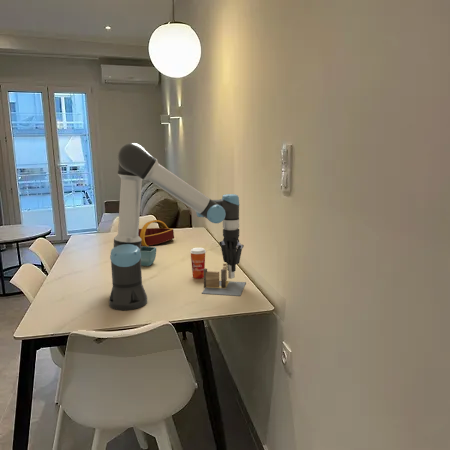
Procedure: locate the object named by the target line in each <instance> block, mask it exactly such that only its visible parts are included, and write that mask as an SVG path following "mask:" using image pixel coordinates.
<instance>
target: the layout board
mask: <svg viewBox="0 0 450 450" xmlns="http://www.w3.org/2000/svg"><path fill="white" fill-rule="evenodd" d="M245 286H246V281H231V280H226V287H225V288H221V280H219V287H204V289H203V290H202V292H201V294H204V295H217V296H219V295H220V296H231V297H233V296H234V297H242V296H241V295H242V293H243V290H244V288H245Z"/></svg>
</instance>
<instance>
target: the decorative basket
mask: <svg viewBox="0 0 450 450" xmlns="http://www.w3.org/2000/svg"><path fill="white" fill-rule="evenodd" d="M153 223H155V224H158V225H159V226H160V227H151V228H150V227H149V226H150V224H153ZM148 227H149V228H148ZM138 236H139V237H140V238H141V239H142V240H141V247H150V246H153V245H159V244H162V243H166V242H168V241H171V240H173V239H175V232H174V228H169V227H168V226H167V224H166V223H165V222H164V221H162V220H159V219H153V220H150V221H148V222H146V223H145V224H144V225H142V228H139V232H138ZM149 245H150V246H149Z"/></svg>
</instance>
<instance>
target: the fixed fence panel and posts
mask: <svg viewBox="0 0 450 450" xmlns="http://www.w3.org/2000/svg"><path fill="white" fill-rule="evenodd" d="M220 277H221V278H220ZM219 281H221V288H225V287H226V281H227V280H226V270H225V269H223V268H222V269H221V270H220V271H213V270H212V271H211V270H208V268H205V269H204V278H203V288H205V287H219Z"/></svg>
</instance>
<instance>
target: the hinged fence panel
mask: <svg viewBox="0 0 450 450" xmlns="http://www.w3.org/2000/svg"><path fill="white" fill-rule="evenodd" d="M222 264H223V265H222V269H225V270H226V281H228V280H227V279H228V270H227V263H222Z"/></svg>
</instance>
